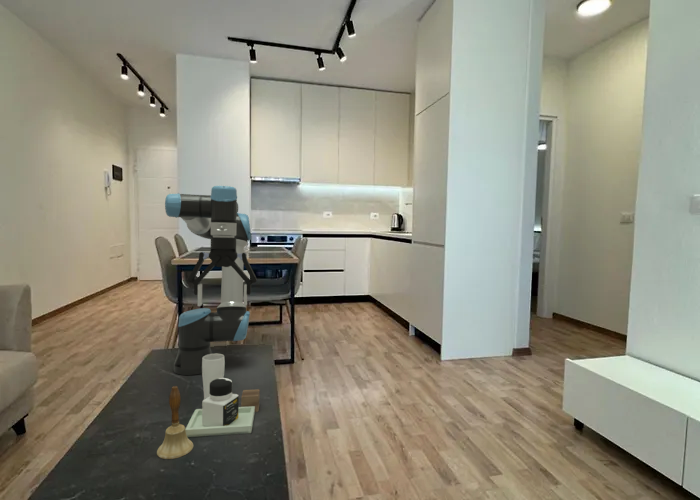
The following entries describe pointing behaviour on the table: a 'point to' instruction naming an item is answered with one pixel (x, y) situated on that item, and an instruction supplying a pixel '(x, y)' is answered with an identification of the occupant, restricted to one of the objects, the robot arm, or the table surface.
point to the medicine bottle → (220, 404)
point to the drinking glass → (212, 370)
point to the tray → (237, 427)
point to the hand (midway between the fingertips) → (222, 305)
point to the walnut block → (250, 398)
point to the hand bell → (175, 432)
